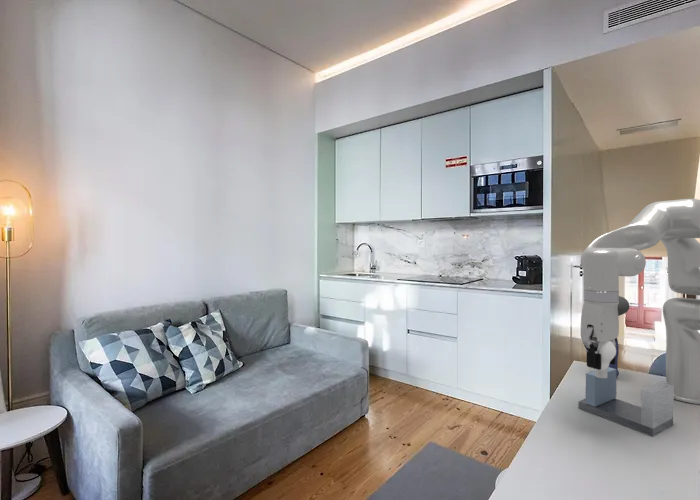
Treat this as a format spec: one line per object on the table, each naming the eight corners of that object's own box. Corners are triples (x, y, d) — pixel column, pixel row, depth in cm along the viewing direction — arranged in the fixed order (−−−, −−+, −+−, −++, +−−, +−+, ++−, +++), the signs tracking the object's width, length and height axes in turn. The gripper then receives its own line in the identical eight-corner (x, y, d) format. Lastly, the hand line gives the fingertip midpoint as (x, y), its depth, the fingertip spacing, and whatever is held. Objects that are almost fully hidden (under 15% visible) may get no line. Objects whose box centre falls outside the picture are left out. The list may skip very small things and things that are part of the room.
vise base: (599, 399, 111) (600, 364, 111) (673, 425, 96) (673, 384, 96) (578, 408, 106) (578, 371, 106) (652, 436, 90) (653, 393, 90)
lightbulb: (607, 385, 88) (607, 341, 88) (581, 377, 94) (581, 335, 94) (621, 380, 91) (621, 338, 91) (595, 372, 97) (594, 332, 97)
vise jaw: (606, 395, 110) (607, 366, 110) (616, 398, 108) (616, 369, 107) (585, 403, 104) (585, 373, 104) (594, 406, 102) (595, 376, 102)
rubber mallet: (617, 384, 124) (618, 298, 124) (593, 377, 130) (593, 296, 130) (630, 377, 131) (631, 296, 131) (607, 371, 137) (607, 293, 137)
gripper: (602, 292, 100) (602, 355, 100) (566, 298, 91) (567, 367, 92) (633, 295, 93) (634, 363, 94) (598, 302, 85) (599, 376, 85)
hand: (601, 364), depth 93 cm, fingers closed on lightbulb, 6 cm apart
